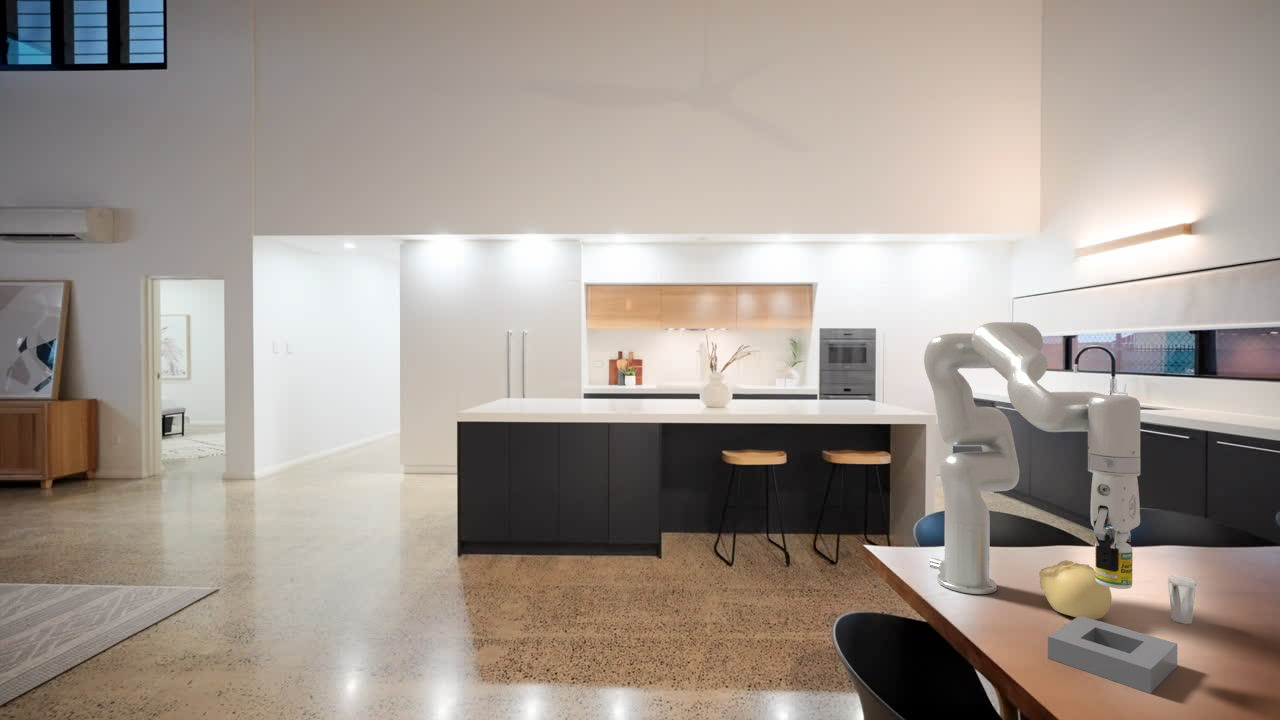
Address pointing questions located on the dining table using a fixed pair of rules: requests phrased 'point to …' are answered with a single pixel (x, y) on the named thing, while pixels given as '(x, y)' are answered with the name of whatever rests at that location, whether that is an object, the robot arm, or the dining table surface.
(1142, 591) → the dining table surface
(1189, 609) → the milkshake
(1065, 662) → the socket block
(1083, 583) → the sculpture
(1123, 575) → the supplement bottle
